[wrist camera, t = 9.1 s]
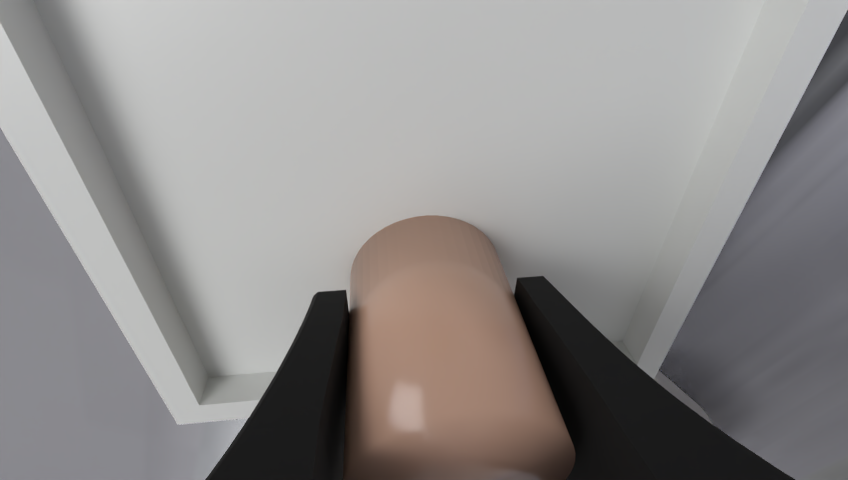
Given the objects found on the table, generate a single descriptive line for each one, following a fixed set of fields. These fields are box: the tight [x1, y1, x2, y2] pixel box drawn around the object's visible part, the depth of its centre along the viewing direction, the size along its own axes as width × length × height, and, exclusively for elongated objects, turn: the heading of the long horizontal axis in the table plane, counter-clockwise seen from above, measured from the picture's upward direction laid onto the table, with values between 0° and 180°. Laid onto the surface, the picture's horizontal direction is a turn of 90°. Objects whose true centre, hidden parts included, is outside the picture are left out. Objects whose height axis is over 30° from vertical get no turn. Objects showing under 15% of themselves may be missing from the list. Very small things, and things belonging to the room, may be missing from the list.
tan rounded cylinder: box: [343, 215, 576, 480], centre depth 9 cm, size 4×4×5 cm
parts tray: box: [0, 0, 848, 425], centre depth 9 cm, size 14×15×1 cm
